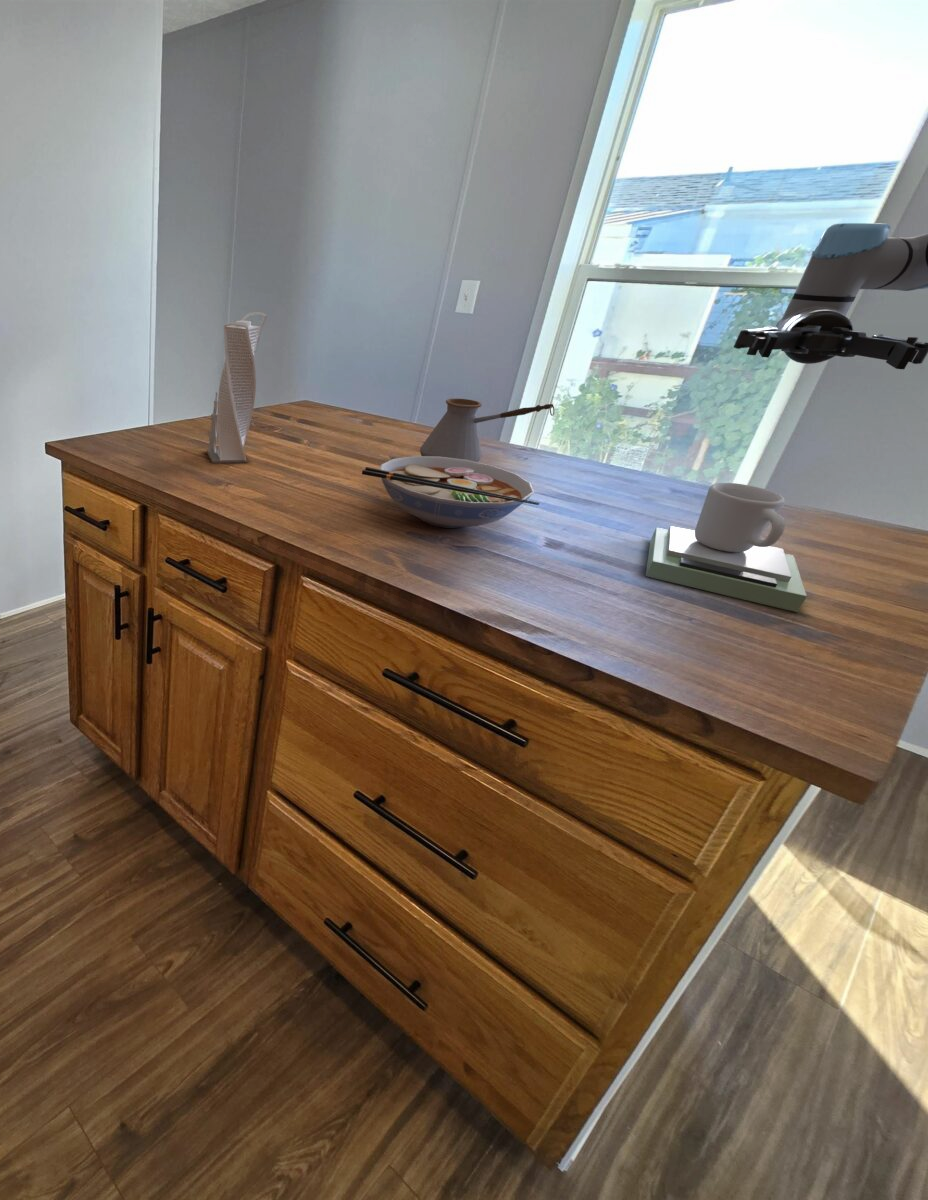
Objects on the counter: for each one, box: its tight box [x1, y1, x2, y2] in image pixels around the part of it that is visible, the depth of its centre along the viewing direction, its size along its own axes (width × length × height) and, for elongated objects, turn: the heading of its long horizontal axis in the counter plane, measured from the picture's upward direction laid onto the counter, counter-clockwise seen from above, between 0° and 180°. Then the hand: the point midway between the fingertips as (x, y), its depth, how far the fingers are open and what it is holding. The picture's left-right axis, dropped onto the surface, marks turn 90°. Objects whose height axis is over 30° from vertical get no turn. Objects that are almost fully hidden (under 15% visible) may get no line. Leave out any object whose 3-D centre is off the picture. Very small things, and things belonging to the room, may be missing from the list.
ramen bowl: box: [361, 455, 540, 529], centre depth 106 cm, size 25×23×8 cm
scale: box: [645, 525, 808, 613], centre depth 92 cm, size 16×15×3 cm
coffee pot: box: [419, 398, 555, 462], centre depth 126 cm, size 21×12×15 cm, turn 46°
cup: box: [694, 482, 786, 552], centre depth 90 cm, size 11×8×8 cm
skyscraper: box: [206, 311, 268, 464], centre depth 129 cm, size 8×8×28 cm
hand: (835, 352), depth 89 cm, fingers open, 13 cm apart
